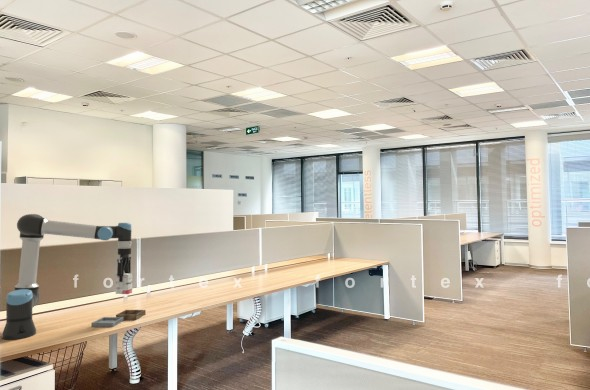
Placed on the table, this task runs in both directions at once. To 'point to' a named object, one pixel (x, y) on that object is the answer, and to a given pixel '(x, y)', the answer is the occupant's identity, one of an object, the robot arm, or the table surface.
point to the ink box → (127, 284)
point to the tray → (107, 322)
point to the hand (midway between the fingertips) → (123, 286)
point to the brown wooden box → (132, 314)
